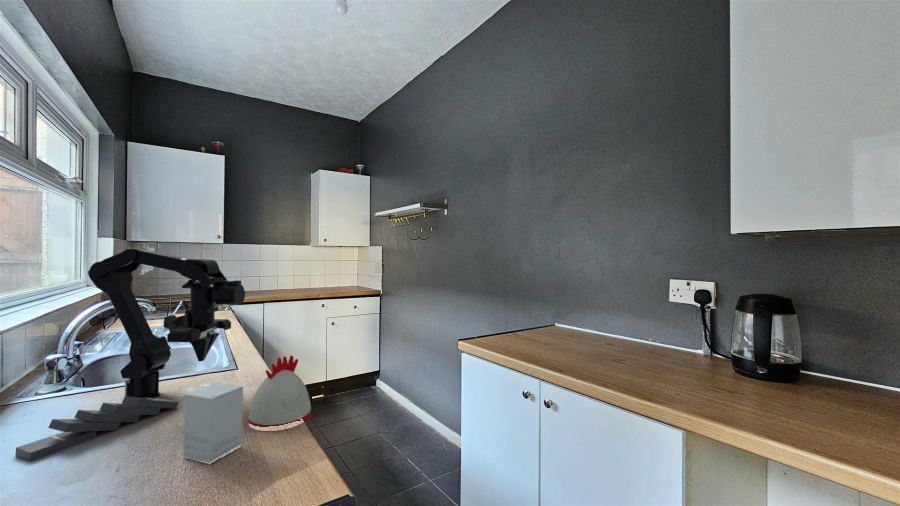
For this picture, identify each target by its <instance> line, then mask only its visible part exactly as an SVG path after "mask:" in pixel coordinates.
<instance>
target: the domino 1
mask: <svg viewBox="0 0 900 506" xmlns="http://www.w3.org/2000/svg"><path fill="white" fill-rule="evenodd" d="M93 438H94V439H95V438H97V431H81V432H61V433H57V434H54V435H51V436H48V437H45V438H41V439H38V440H35V441H32V442H29V443H26V444H22V445H20V446H16V447H15V457H17V458H20V459H23V460H25V461H28V462H33V461H34V460H37V459H40V458H43V457H46V456H49V455H51V454H55V453H58V452H60V451H63V450H66V449H69V448H71V447H74V446H77V445H79V444H83V443H85V442H88V441H91V440H94V439H93Z"/></svg>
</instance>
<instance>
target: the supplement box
mask: <svg viewBox="0 0 900 506" xmlns="http://www.w3.org/2000/svg"><path fill="white" fill-rule="evenodd" d="M243 398H244V386H241V385H234V384H228V383H224V382H215V383H212V384H209V385H207V386H204V387H201V388H197V389H196V390H193V391H190V392H187V393H185V394H184V409H183V410H184V412H183V413H184V415H183V416H184V417H183V456H184V457H188V458H191V459H195V460H199V461H205V462H211V461H213V460H214V459H216V458H218V457H219V456H221V455H223V454H224V453H227V452H228V451H230V450H231V449H233V448H235V447H237V446H238V445H240V444H241V443H242V444H243V407H244V406H243V405H244V403H243V402H244V399H243ZM183 456H182V457H183Z"/></svg>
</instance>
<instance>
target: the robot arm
mask: <svg viewBox="0 0 900 506" xmlns="http://www.w3.org/2000/svg"><path fill="white" fill-rule="evenodd" d="M142 265H145V266H150V267H154V268H158V269H163V270H168V271H172V272H175V273H177V274H178V275H181V276H182V277H185V278H187V279H188V281H187V282H185V283H184V284H182V285H181V288H182V289H190V290H189V291H190V292H189V308H186V309H185V310H184V315H179V316H176V315H175V314H171V315H167V316H165V317H164V318H163V328H165V329H168V333H167V334H166V336H167V337H166V336H159V337H158V336H157V335H155V334H154V333H153V331H152V329H151V327H150V325H149V323H148V321H147V318H146V317H145V315H144V313H143V311H142V308H141V306H140V305H139V303H138V300H137V298H136V296H135V294H134V292H133V290H132V284H133V280H134V279H133V275H132V273H134V272H136V271H137V270H138V269H140V267H141V266H142ZM87 275H88V277H89V279H90V281H91V282H92V283H93V284H94V286H95V287H96V288H97V289H98V290H100V291H101V292H103V293H104V294H106V295H107V296H108V298H109V300H110V302H111V304H112V306H113V308H114V310H115V312H116V314H117V317H118V318H119V320H120V322H121V324H122V326H123V328H124V331H125V333H126V334H127V337H128V340H129V342H130V345H129V352H128V356H129V359H130V361H129V362H128V363H127V364H126V365H125V366H124V367H123V368H121V370H120V371H119V372H120V375H121V378H122V379H127V380H125V381H124V397H125V396H128V397H142V398H156V397H160V396H161V392H160V391H159V388H160V387H159V386H160V371H161V370H164V368H165V366H166V364H167V363H168V361H169V360H170V357H172V353H171V350H172V346H170V345H169V344H168V343H189V344H190V345H191V346H192V349H193V350H194V354H195V356H196V358H197V361H198V362H203V361H205V359H206V357H207V356H208V354H209V352H210V351H211V348H212V347H213V344H214V343H215V341H216V340H217V338H218V337H219V336H220V335H221V334H220V333H219V332H216V331H215V330H216V329H223V330H224V331H228V330H230V329H232V321H230V320H229V318H228V319H227V318H215V313H216V312H218V311H219V307H218V306H215V305H219V306H220V305H221V306H226V305H227V306H241V305H242V304H243V303H244V301H245V298H246V291H245V288H244V286H243V284H242V280H241V279H240V280H239V279H237V280H228V279H227V278H226V276H225V275H224V273H223V272H222V271H221V270H220V267H219V264H218V262H217V261H216V260H214V259H210V258H209V259H208V258H206V259H205V258H204V259H203V258H187V257H186V258H185V257H181V256H176V255H171V254H169V253H168V254H166V253H162V252H158V251H153V250H148V249H146V248H144V247H143V248H141V247H130V248H127V249H125V250H123V251H121V252H119V253H117V254H115V255H112V256H109V257H107V258H104V259H102V260H101V261H96V262H94V263H92V265H90V267H89V269H88V271H87Z"/></svg>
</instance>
